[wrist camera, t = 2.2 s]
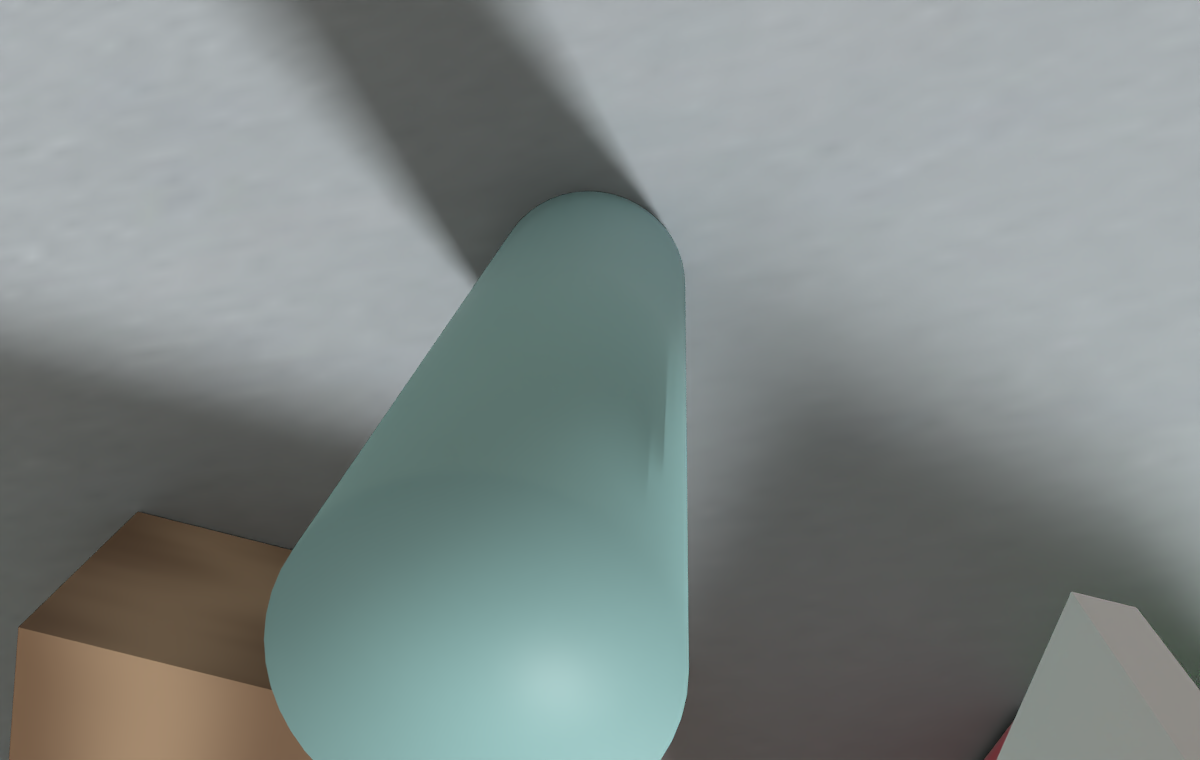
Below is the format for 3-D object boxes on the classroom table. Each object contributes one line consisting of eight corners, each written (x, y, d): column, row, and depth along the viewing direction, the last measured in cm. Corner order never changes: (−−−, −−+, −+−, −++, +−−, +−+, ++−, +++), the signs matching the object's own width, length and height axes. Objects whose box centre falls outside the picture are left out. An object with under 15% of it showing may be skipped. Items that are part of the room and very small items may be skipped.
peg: (707, 218, 23) (741, 533, 10) (657, 394, 24) (629, 879, 11) (518, 170, 23) (296, 422, 10) (479, 349, 24) (239, 783, 11)
